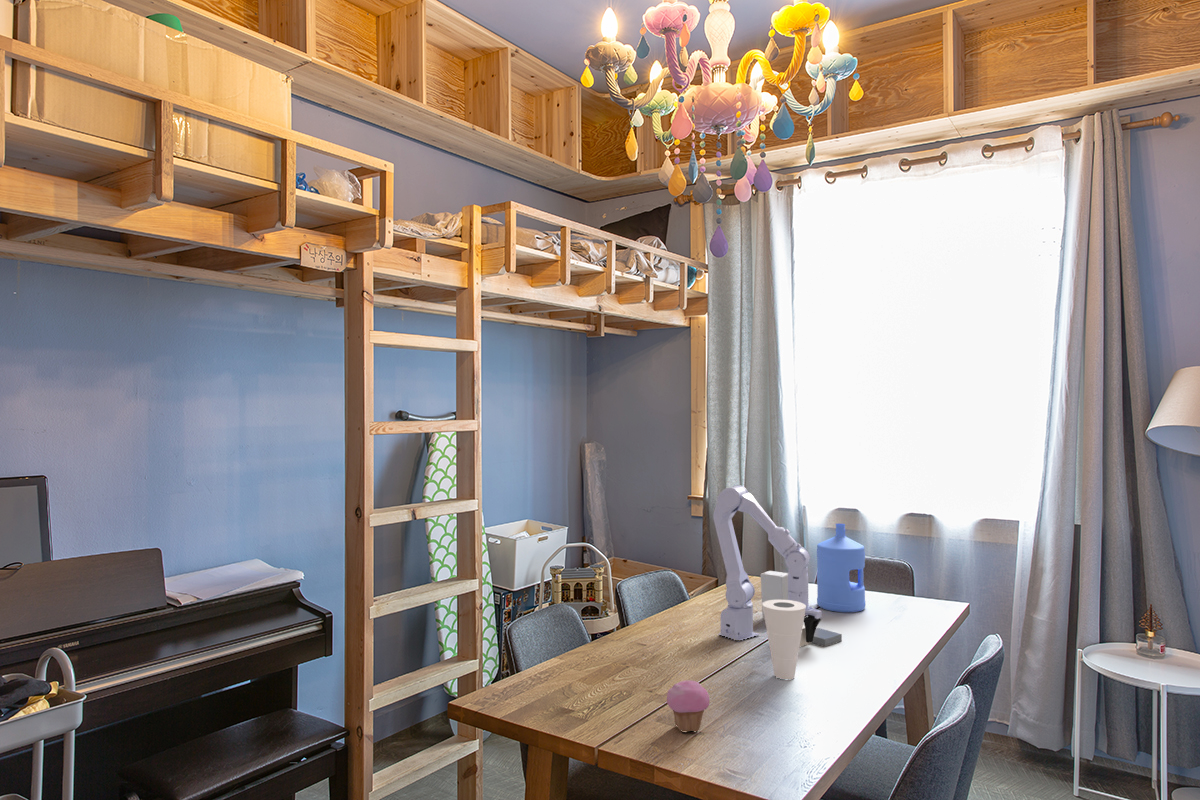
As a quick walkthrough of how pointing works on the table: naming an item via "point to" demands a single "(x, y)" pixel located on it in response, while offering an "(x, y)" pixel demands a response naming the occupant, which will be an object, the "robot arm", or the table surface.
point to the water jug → (840, 573)
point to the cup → (784, 634)
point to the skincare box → (774, 586)
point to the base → (826, 637)
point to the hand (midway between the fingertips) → (798, 638)
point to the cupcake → (688, 704)
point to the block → (803, 637)
